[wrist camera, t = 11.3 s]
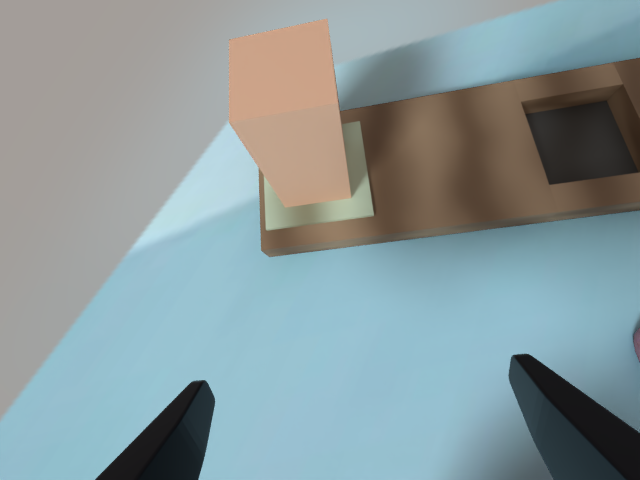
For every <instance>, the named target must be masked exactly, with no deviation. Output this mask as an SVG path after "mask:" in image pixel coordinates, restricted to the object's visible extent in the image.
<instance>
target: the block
mask: <svg viewBox="0 0 640 480" xmlns="http://www.w3.org/2000/svg"><path fill="white" fill-rule="evenodd" d="M229 123H230V125H231V126H232V128H233V129H234V131H235V132H236V134H237V135H238V137H239V138H240V140H241V141H242V143H243V144H244V146H245V147H246V149H247V150H248V152H249V153H250V155H251V157H252V158H253V160H254V161H255V163H256V164H257V166H258V167H259V169H260V170H261V172H262V173H263V175H264V176H265V178H266V179H267V181H268V182H269V184H270V185H271V187H272V188H273V190H274V191H275V193H276V194H277V196H278V197H279V199H280V200H281V202H282V203H283V205H284V207H285V208H286V207H293V206H300V205H307V204H314V203H321V202H328V201H335V200H341V199H348V198H351V191H350V183H349V175H348V168H347V160H346V152H345V144H344V137H343V129H342V122H341V115H340V108H339V100H338V93H337V86H336V78H335V71H334V64H333V57H332V49H331V42H330V35H329V27H328V20H327V19H324V20H319V21H314V22H309V23H305V24H300V25H296V26H291V27H286V28H281V29H277V30H272V31H267V32H263V33H258V34H253V35H249V36H244V37H239V38H235V39H230V40H229Z"/></svg>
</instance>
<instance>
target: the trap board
mask: <svg viewBox="0 0 640 480" xmlns="http://www.w3.org/2000/svg"><path fill="white" fill-rule="evenodd" d="M340 115H341V122H342V129H343V137H344V144H345V152H346V160H347V168H348V175H349V183H350V191H351V198H348V199H341V200H335V201H328V202H321V203H314V204H307V205H300V206H293V207H286V208H285V207H284V205H283V203H282V202H281V200H280V199H279V197H278V196H277V194H276V193H275V191H274V190H273V188H272V187H271V185H270V184H269V182H268V181H267V179H266V178H265V176H264V175H263V173H262V172H261V170H260V169H259V195H260V227H261V251H262V252H264V253H265V254H266V255H268V256H269V257H273V256H281V255H289V254H297V253H305V252H313V251H321V250H329V249H337V248H345V247H352V246H360V245H368V244H376V243H384V242H392V241H400V240H408V239H416V238H424V237H432V236H439V235H447V234H455V233H463V232H471V231H479V230H487V229H495V228H503V227H511V226H519V225H526V224H534V223H542V222H550V221H558V220H566V219H574V218H582V217H590V216H598V215H606V214H613V213H621V212H629V211H637V210H640V58H636V59H630V60H625V61H619V62H613V63H608V64H602V65H597V66H591V67H585V68H580V69H574V70H569V71H563V72H557V73H552V74H546V75H540V76H535V77H529V78H524V79H518V80H512V81H507V82H501V83H496V84H490V85H484V86H479V87H473V88H467V89H462V90H456V91H451V92H445V93H439V94H434V95H428V96H423V97H417V98H411V99H406V100H400V101H395V102H389V103H383V104H378V105H372V106H366V107H361V108H355V109H350V110H344V111H340Z"/></svg>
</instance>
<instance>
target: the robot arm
mask: <svg viewBox="0 0 640 480" xmlns="http://www.w3.org/2000/svg"><path fill="white" fill-rule="evenodd" d="M509 381H510V384H511V387H512V389H513V391H514V394H515V396H516V399H517V401H518V404H519V406H520V409H521V411H522V414H523V416H524V419H525V421H526V424H527V426H528V428H529V431H530V433H531V436H532V438H533V440H534V442H535V444H536V446H537V448H538V450H539V452H540V454H541V456H542V458H543V460H544V462H545V464H546V466H547V468H548V470H549V471H550V473H551V475H552V477H553V479H554V480H640V433H639V432H638V431H636V430H635V429H633V428H632V427H631V426H629V425H628V424H626V423H625V422H624V421H622V420H621V419H619V418H618V417H617V416H615V415H614V414H612V413H611V412H610V411H608V410H607V409H605V408H604V407H603V406H601V405H600V404H598V403H597V402H596V401H594V400H593V399H591V398H590V397H589V396H587V395H586V394H584V393H583V392H582V391H580V390H579V389H577V388H576V387H575V386H573V385H572V384H570V383H569V382H568V381H566V380H565V379H563V378H562V377H561V376H559V375H558V374H556V373H555V372H554V371H552V370H551V369H549V368H548V367H546V366H545V365H544V364H542V363H541V362H539V361H538V360H537V359H535V358H534V357H532V356H531V355H529V354H517V355H513V356H512V357H511V362H510V369H509ZM214 406H215V398H214V395H213V393H212V391H211V389H210V387H209V385H208V383H207V381H205V380H199V381H193V382H191V383H190V384H189V385H188V386H187V387H186V388H185V389H184V390H183V391H182V392H181V393H180V394H179V395H178V396H177V397H176V398H175V399H174V400H173V401H172V402H171V403H170V404H169V405H168V406H167V407H166V408H165V409H164V410H163V411H162V412H161V413H160V414H159V415H158V416H157V417H156V418H155V419H154V420H153V421H152V422H151V423H150V424H149V425H148V426H147V427H146V428H145V429H144V430H143V432H142V433H141V434H140V435H139V436H138V437H137V438H136V439H135V440H134V441H133V442H132V443H131V444H130V445H129V446H128V447H127V448H126V449H125V450H124V451H123V452H122V453H121V454H120V455H119V456H118V457H117V458H116V459H115V460H114V461H113V462H112V463H111V464H110V465H109V466H108V467H107V468H106V469H105V470H104V471H103V472H102V473H101V474H100V475H99V476H98V477H97V478H96V479H95V480H198V478H199V475H200V471H201V468H202V464H203V461H204V457H205V452H206V448H207V442H208V437H209V432H210V427H211V422H212V416H213V411H214Z"/></svg>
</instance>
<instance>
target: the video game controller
mask: <svg viewBox="0 0 640 480" xmlns="http://www.w3.org/2000/svg"><path fill="white" fill-rule="evenodd" d="M634 347H635V352H636V354H637V357H638V360H639V362H640V328H639V329H638V330H637V331H636V333H635V334H634Z"/></svg>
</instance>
